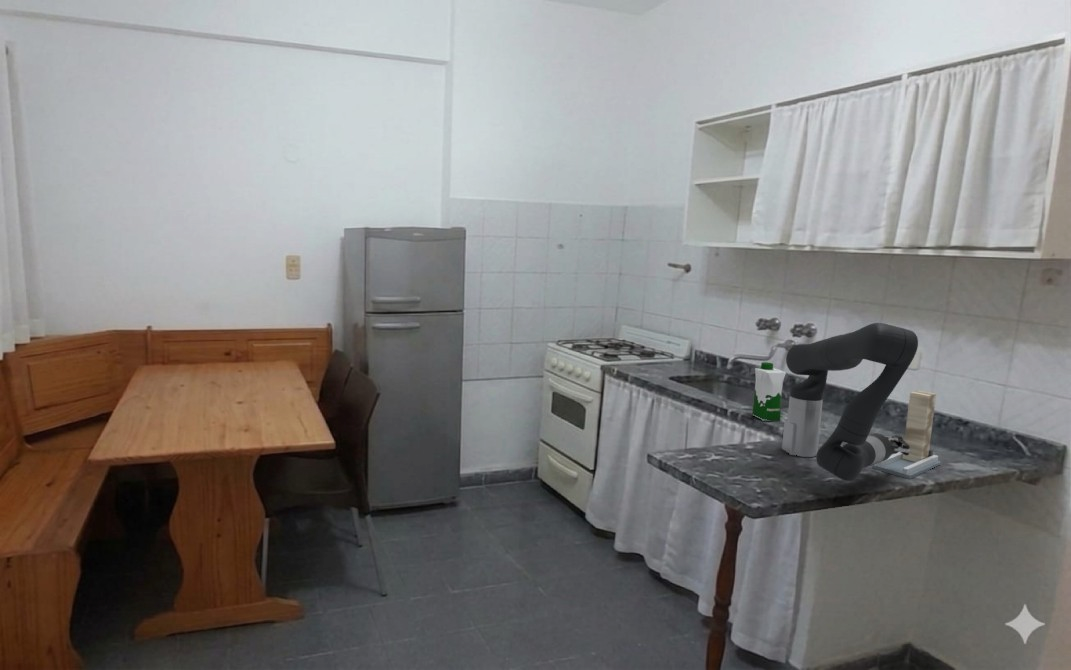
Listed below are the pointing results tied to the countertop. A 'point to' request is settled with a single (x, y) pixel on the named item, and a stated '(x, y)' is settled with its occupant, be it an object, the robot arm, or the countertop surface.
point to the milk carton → (768, 392)
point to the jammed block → (919, 425)
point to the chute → (907, 465)
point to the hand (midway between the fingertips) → (899, 439)
